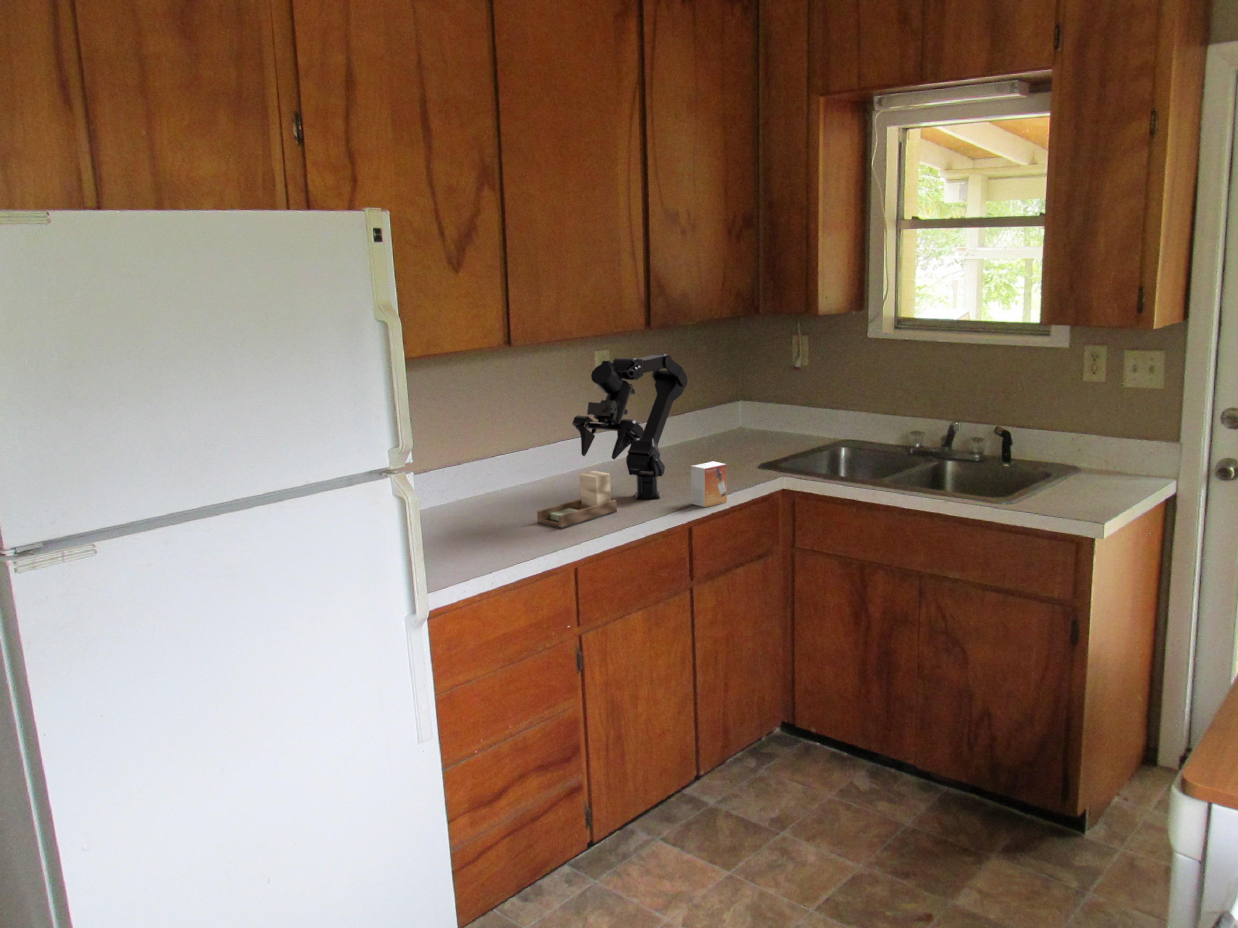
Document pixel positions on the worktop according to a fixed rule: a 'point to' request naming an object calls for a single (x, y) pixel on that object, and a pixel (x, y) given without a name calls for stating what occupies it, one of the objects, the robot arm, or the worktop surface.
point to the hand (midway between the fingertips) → (597, 457)
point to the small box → (709, 484)
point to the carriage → (595, 488)
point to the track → (574, 513)
